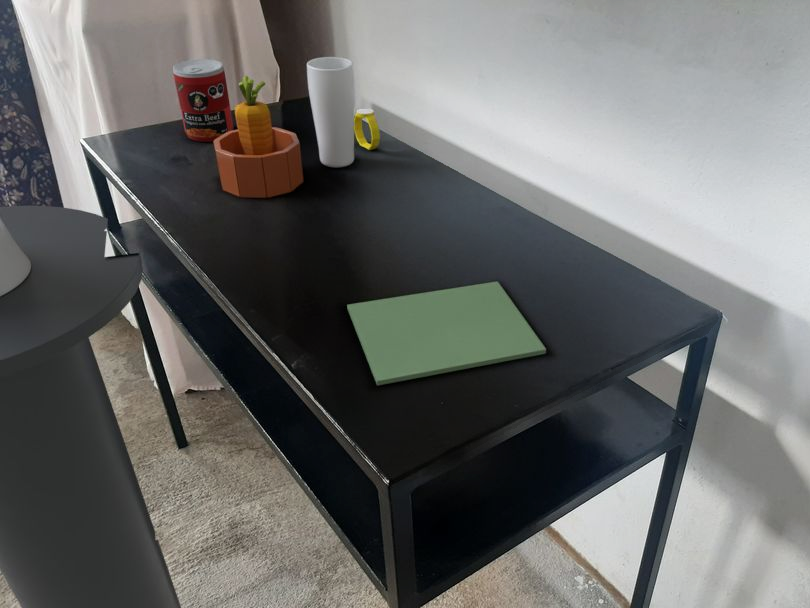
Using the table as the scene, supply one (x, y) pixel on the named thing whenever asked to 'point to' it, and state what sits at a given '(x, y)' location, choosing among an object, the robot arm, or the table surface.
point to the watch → (373, 126)
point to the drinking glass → (333, 108)
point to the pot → (259, 165)
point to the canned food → (203, 99)
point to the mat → (441, 332)
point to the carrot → (253, 121)
